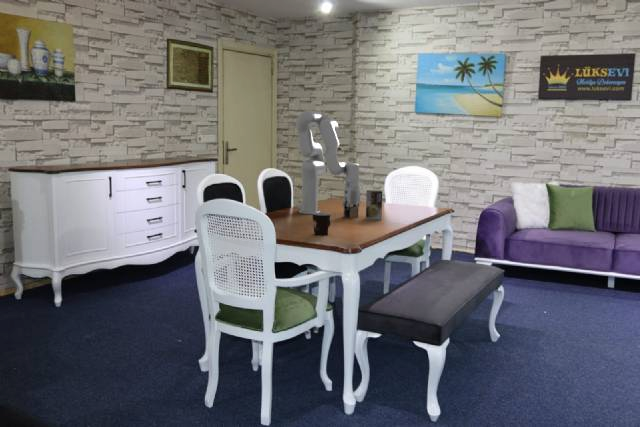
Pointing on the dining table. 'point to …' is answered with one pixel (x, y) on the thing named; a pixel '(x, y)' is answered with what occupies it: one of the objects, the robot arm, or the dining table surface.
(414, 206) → the dining table surface
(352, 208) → the walnut block
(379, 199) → the coffee box
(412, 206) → the dining table surface
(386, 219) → the dining table surface
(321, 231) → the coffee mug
